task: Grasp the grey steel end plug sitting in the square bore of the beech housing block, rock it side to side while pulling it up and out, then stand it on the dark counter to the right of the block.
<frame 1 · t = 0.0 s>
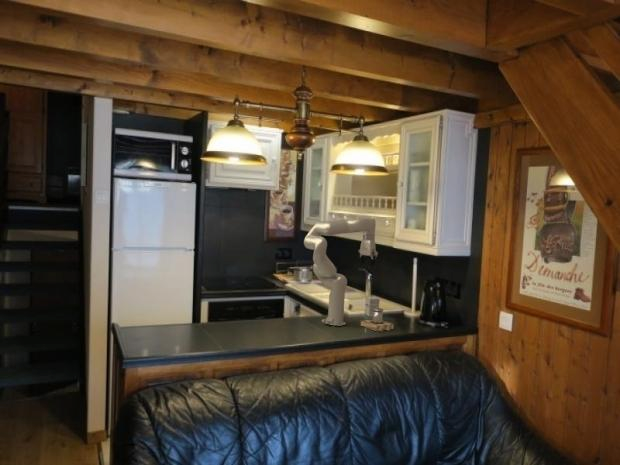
hand: (367, 264, 316), 37 cm above the countertop, tool pointing down, fingers open, 9 cm apart
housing: (376, 328, 301), on the countertop
supplement box: (371, 316, 333), on the countertop
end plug: (377, 318, 300), in the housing
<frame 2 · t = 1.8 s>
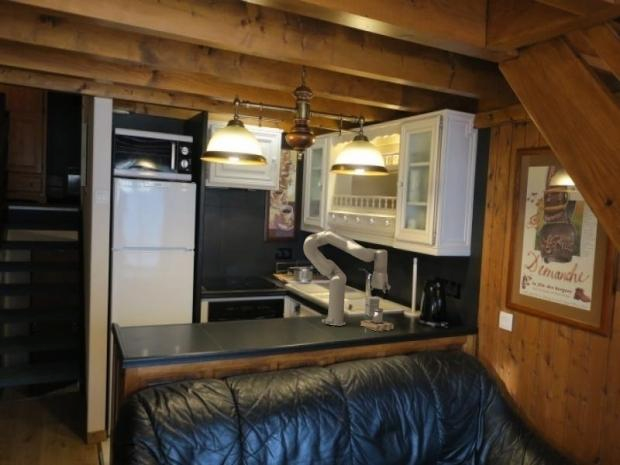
hand: (379, 297, 299), 19 cm above the countertop, tool pointing down, fingers open, 9 cm apart
nothing on the countertop moved.
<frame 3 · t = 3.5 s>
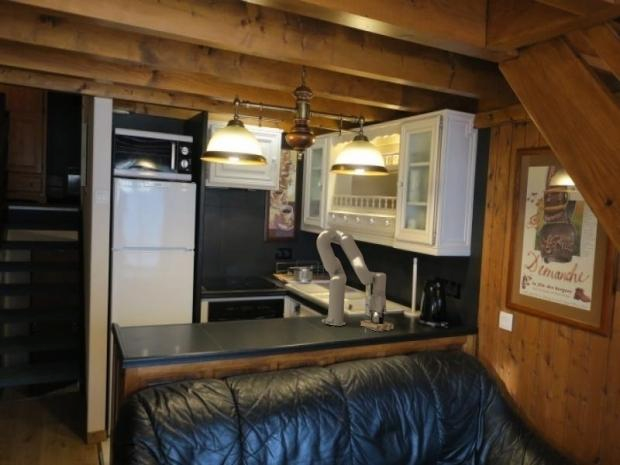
hand: (377, 321, 300), 4 cm above the countertop, tool pointing down, fingers closed on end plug, 6 cm apart
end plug: (377, 318, 300), in the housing, touching gripper
everything else where it was.
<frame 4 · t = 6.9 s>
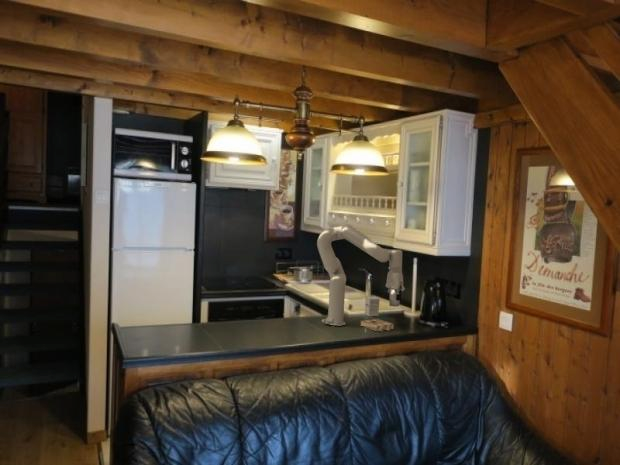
hand: (394, 299, 299), 18 cm above the countertop, tool pointing down, fingers closed on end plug, 6 cm apart
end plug: (394, 295, 299), point 20 cm above the countertop, touching gripper
everything else where it was.
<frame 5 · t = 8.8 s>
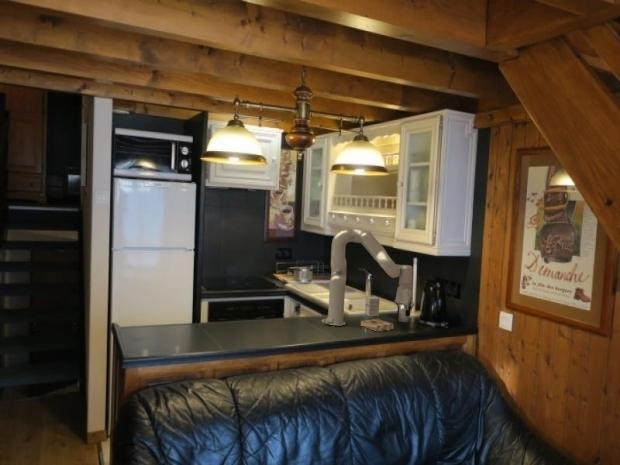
hand: (403, 314, 299), 9 cm above the countertop, tool pointing down, fingers closed on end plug, 6 cm apart
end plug: (403, 311, 299), point 11 cm above the countertop, touching gripper
everything else where it was.
when the fingers open (5 cm above the countertop, at t = 10.1 s): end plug drops 1 cm, on the countertop.
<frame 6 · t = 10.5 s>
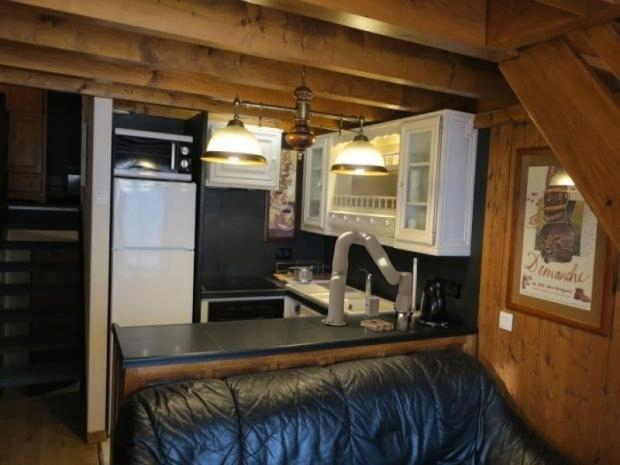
hand: (403, 320, 299), 6 cm above the countertop, tool pointing down, fingers open, 9 cm apart
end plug: (402, 320, 300), on the countertop
everything else where it was.
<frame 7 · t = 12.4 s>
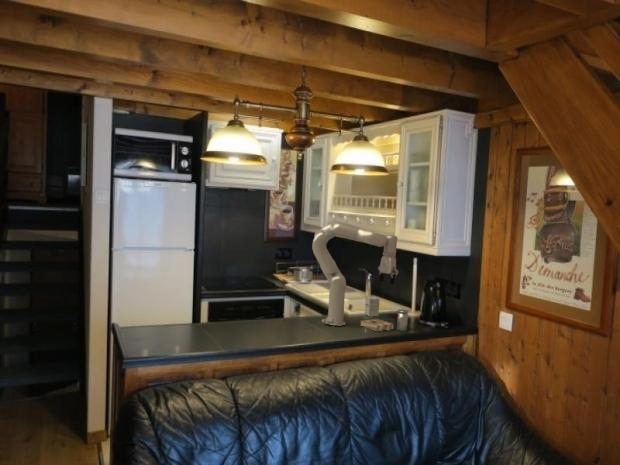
hand: (386, 282, 305), 27 cm above the countertop, tool pointing down, fingers open, 9 cm apart
nothing on the countertop moved.
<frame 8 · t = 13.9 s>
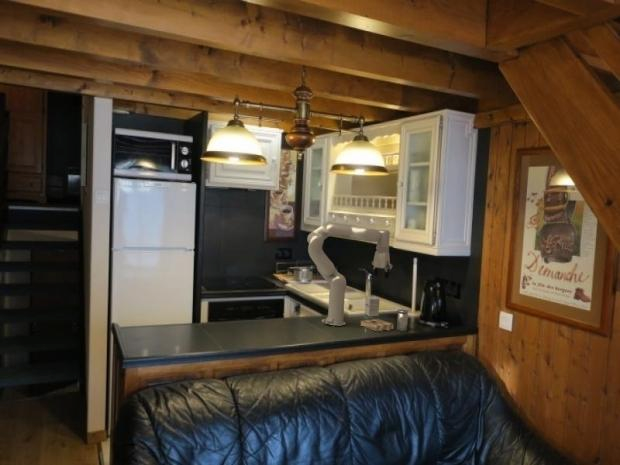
hand: (381, 276, 308), 30 cm above the countertop, tool pointing down, fingers open, 9 cm apart
nothing on the countertop moved.
at the end: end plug inside the target area (0.4 cm from its centre), on the countertop; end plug tilted 0°; the gripper is holding nothing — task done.
